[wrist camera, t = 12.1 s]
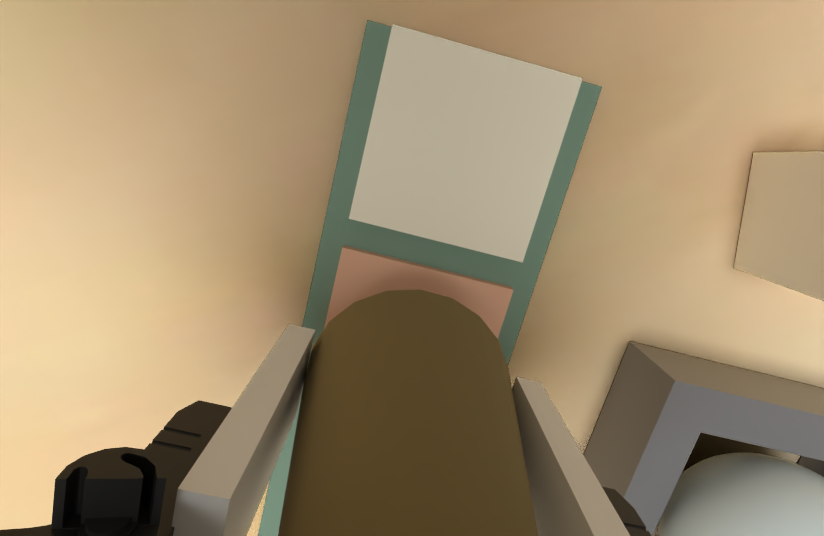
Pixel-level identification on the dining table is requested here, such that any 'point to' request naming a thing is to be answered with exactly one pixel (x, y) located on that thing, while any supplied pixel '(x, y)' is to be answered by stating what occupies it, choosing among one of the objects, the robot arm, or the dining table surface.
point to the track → (443, 186)
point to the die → (785, 221)
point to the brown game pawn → (407, 427)
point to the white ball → (745, 498)
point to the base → (693, 421)
